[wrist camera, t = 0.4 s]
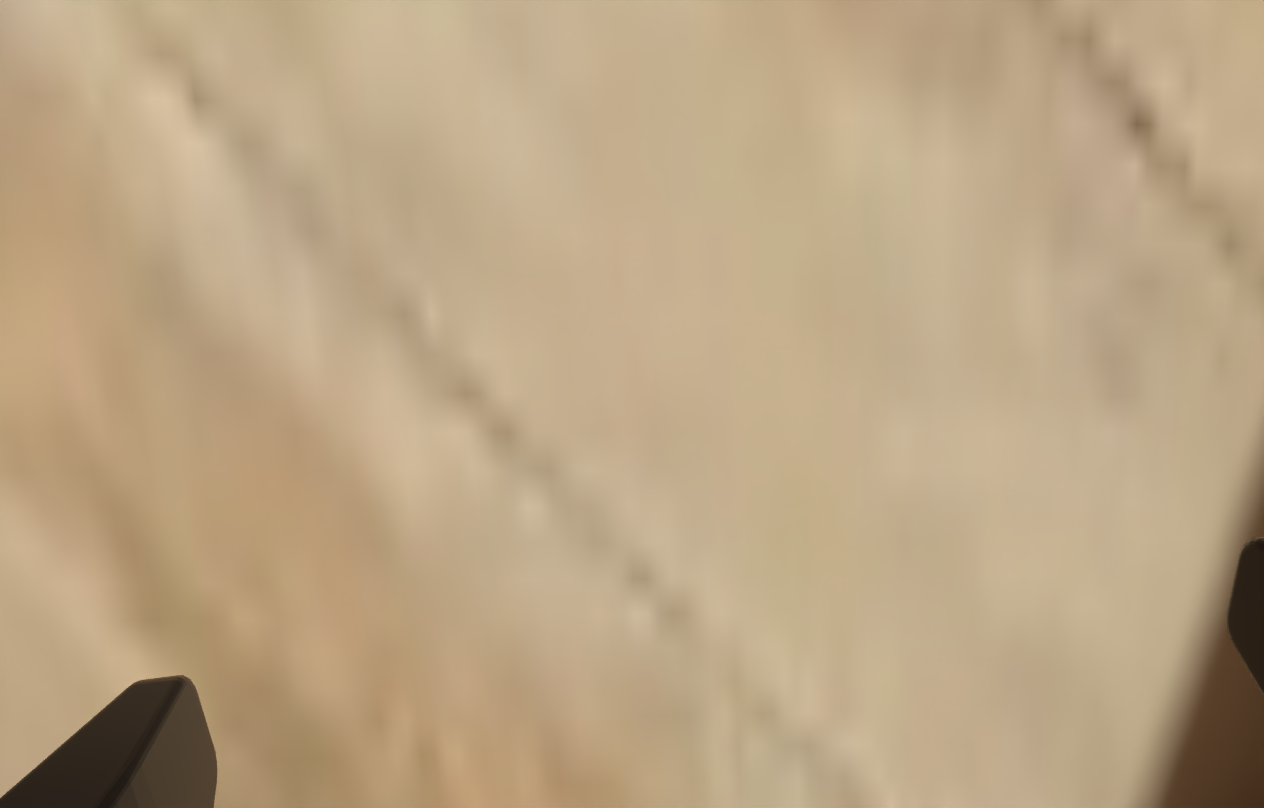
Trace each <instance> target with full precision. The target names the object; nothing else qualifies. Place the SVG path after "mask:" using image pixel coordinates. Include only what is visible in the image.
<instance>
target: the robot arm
mask: <svg viewBox="0 0 1264 808" xmlns="http://www.w3.org/2000/svg"><path fill="white" fill-rule="evenodd" d="M1227 626H1228V631H1229V635H1230V638H1231V640H1232V642H1233V645H1234V647H1235V648H1236V650H1237V652H1238V653H1239V655H1240V657H1241V658H1242V660H1243V662H1244V664H1245V665H1246V667H1247V669H1248V670H1249V672H1250V674H1251V675H1252V677H1253V679H1254V680H1255V682H1256V684H1257V686H1258V687H1259V689H1260V691H1261V692H1262V694H1263V696H1264V537H1257V538H1253V539H1251V540H1249V541H1248V542H1246V544H1245V545H1244V546H1243V548H1242V549H1241V552H1240V555H1239V559H1238V564H1237V569H1236V573H1235V578H1234V583H1233V588H1232V592H1231V597H1230V602H1229V607H1228V612H1227ZM216 784H217V760H216V753H215V749H214V745H213V742H212V739H211V736H210V732H209V729H208V726H207V723H206V719H205V716H204V713H203V709H202V706H201V703H200V700H199V696H198V693H197V690H196V688H195V686H194V684H193V683H192V681H191V680H190V679H189V678H187V677H185V676H183V675H177V676H169V677H161V678H153V679H146V680H140V681H137V682H135V683H133V684H132V685H131V686H129V687H128V688H127V689H126V690H124V691H123V692H122V693H121V694H120V695H119V696H118V697H116V698H115V699H114V700H113V701H112V702H111V703H109V704H108V705H107V706H106V707H105V708H104V709H103V710H101V711H100V712H99V713H98V714H97V715H96V716H94V717H93V718H92V719H91V720H90V721H89V722H88V723H86V724H85V725H84V726H83V727H82V728H81V729H79V730H78V731H77V732H76V733H75V734H74V735H73V736H71V737H70V738H69V739H68V740H67V741H66V742H64V743H63V744H62V745H61V746H60V747H59V748H58V749H56V750H55V751H54V752H53V753H52V754H51V755H50V756H48V757H47V758H46V759H45V760H44V761H43V762H41V763H40V764H39V765H38V766H37V767H36V768H35V769H33V770H32V771H31V772H30V773H29V774H28V775H26V776H25V777H24V778H23V779H22V780H21V781H20V782H18V783H17V784H16V785H15V786H14V787H13V788H11V789H10V790H9V791H8V792H7V793H6V794H5V795H3V796H2V797H1V798H0V808H213V807H214V799H215V791H216Z"/></svg>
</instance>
